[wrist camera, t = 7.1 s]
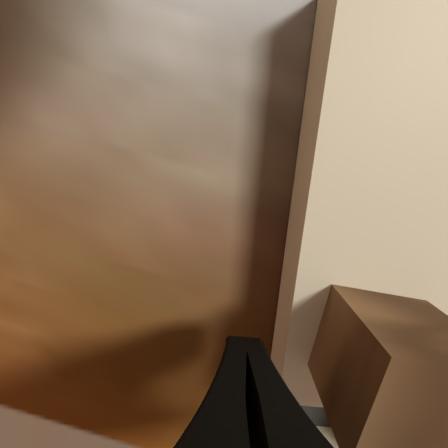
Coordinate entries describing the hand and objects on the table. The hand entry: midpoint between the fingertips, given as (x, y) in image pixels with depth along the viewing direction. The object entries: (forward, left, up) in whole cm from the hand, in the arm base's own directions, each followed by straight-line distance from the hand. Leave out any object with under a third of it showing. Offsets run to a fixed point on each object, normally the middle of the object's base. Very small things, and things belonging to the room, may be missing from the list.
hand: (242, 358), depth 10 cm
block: (-5, -1, -1) cm, 5 cm away
